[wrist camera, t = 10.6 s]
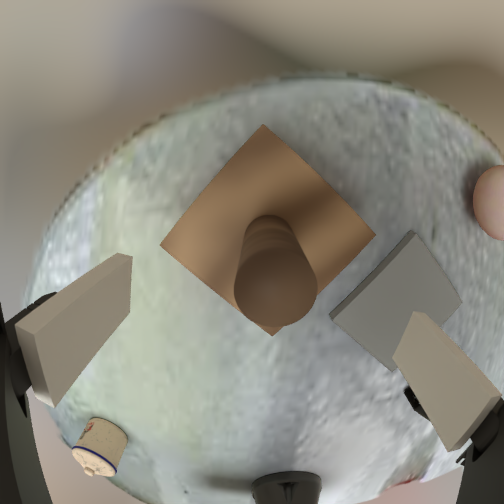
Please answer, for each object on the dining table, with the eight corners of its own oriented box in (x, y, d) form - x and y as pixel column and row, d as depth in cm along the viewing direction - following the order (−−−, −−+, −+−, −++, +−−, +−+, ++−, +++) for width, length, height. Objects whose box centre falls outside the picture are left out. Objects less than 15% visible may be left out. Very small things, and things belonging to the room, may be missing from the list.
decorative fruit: (453, 163, 27) (508, 167, 18) (492, 162, 26) (543, 168, 17) (456, 236, 30) (506, 260, 20) (494, 228, 29) (541, 247, 20)
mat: (457, 297, 32) (462, 302, 31) (388, 366, 35) (391, 372, 34) (410, 230, 30) (416, 233, 28) (329, 314, 33) (331, 320, 31)
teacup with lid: (88, 409, 40) (64, 452, 29) (131, 430, 41) (112, 477, 30) (88, 436, 44) (68, 473, 33) (125, 454, 45) (110, 494, 33)
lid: (371, 231, 24) (439, 277, 13) (271, 329, 27) (277, 417, 16) (262, 126, 22) (266, 90, 11) (163, 241, 25) (102, 294, 14)
